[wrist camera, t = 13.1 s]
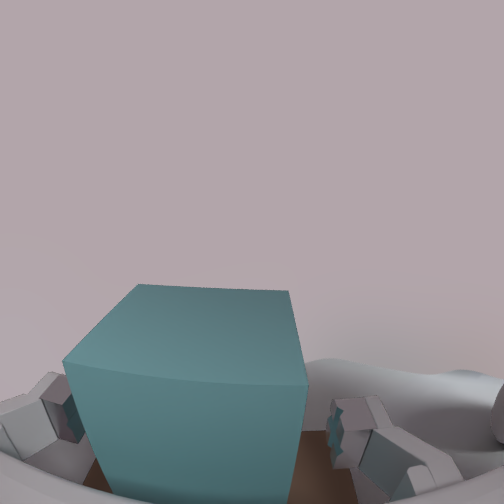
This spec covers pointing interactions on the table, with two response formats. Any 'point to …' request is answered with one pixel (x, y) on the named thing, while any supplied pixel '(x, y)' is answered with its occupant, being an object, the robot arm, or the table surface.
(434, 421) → the table surface
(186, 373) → the teal block
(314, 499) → the oak base
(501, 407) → the donut
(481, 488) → the robot arm
